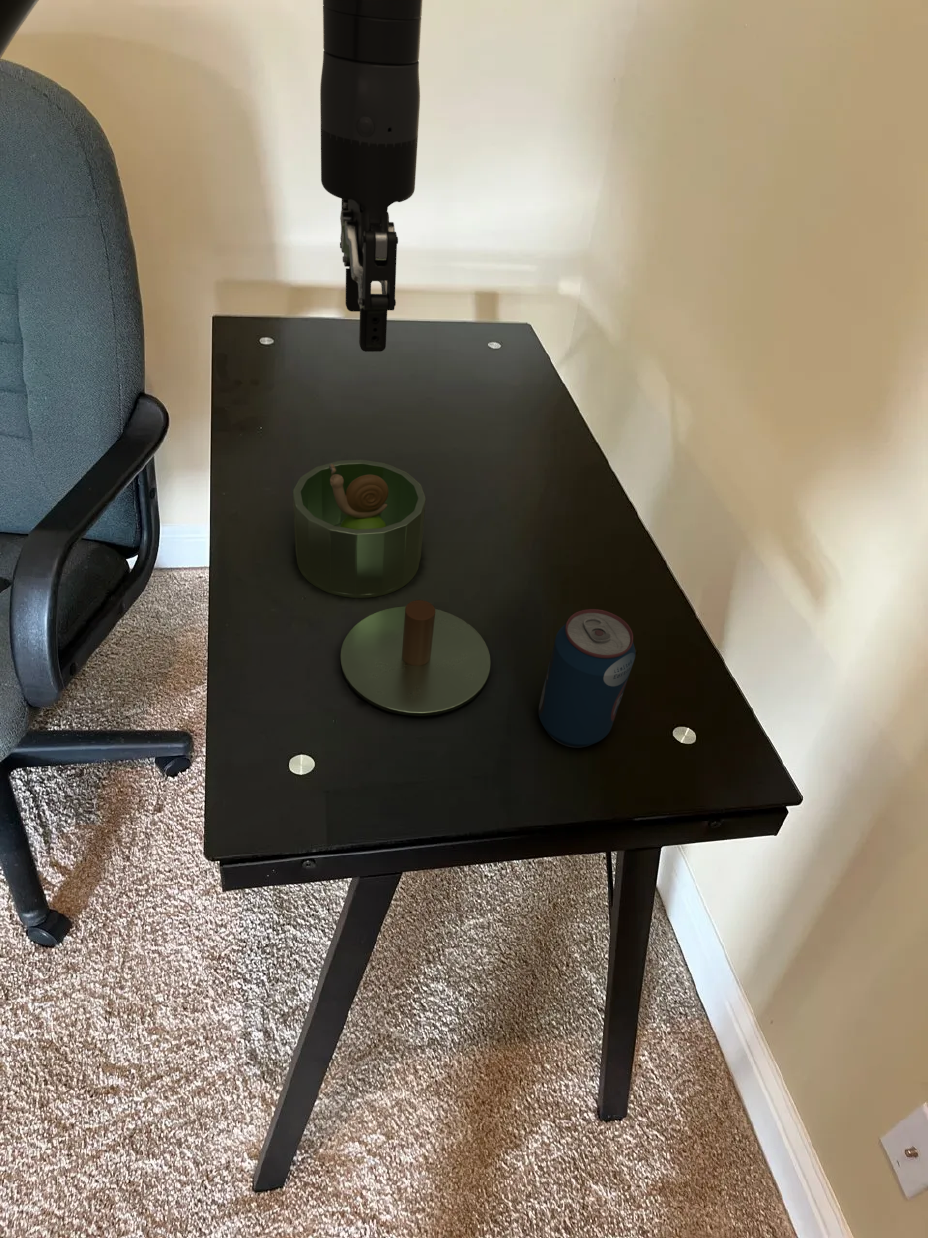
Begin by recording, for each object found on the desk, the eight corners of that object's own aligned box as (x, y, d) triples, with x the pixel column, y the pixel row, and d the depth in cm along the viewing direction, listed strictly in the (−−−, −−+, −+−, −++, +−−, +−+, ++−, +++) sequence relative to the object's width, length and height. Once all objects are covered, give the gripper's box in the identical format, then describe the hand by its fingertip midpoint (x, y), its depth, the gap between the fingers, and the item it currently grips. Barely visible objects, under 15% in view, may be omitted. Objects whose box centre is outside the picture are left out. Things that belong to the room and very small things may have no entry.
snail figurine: (324, 545, 92) (323, 452, 84) (379, 537, 95) (383, 445, 87) (337, 575, 89) (336, 481, 81) (393, 566, 91) (399, 473, 83)
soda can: (621, 746, 76) (654, 654, 68) (551, 759, 74) (577, 666, 66) (591, 692, 81) (619, 599, 73) (525, 702, 79) (546, 609, 71)
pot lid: (352, 729, 74) (353, 675, 69) (331, 620, 84) (330, 566, 80) (506, 710, 78) (517, 657, 73) (469, 608, 88) (476, 555, 83)
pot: (303, 603, 86) (300, 537, 80) (291, 526, 95) (288, 462, 90) (430, 592, 89) (437, 529, 83) (406, 518, 99) (410, 457, 93)
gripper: (436, 153, 60) (421, 364, 71) (400, 106, 70) (391, 298, 81) (332, 147, 58) (333, 365, 69) (310, 100, 68) (313, 297, 79)
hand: (364, 328), depth 75 cm, fingers open, 8 cm apart
